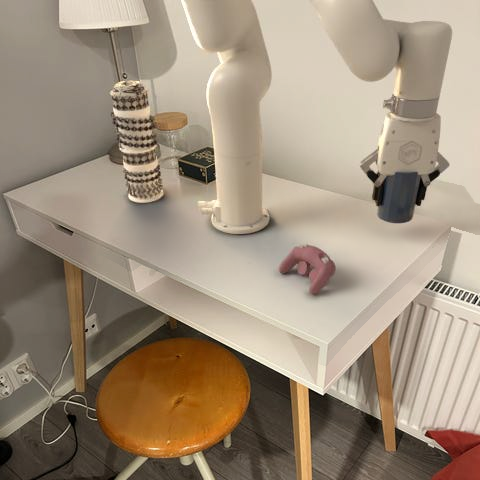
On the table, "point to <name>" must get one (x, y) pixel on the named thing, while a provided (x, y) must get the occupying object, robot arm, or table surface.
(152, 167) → the decorative candle
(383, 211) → the cup
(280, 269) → the video game controller
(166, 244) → the table surface
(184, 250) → the table surface
